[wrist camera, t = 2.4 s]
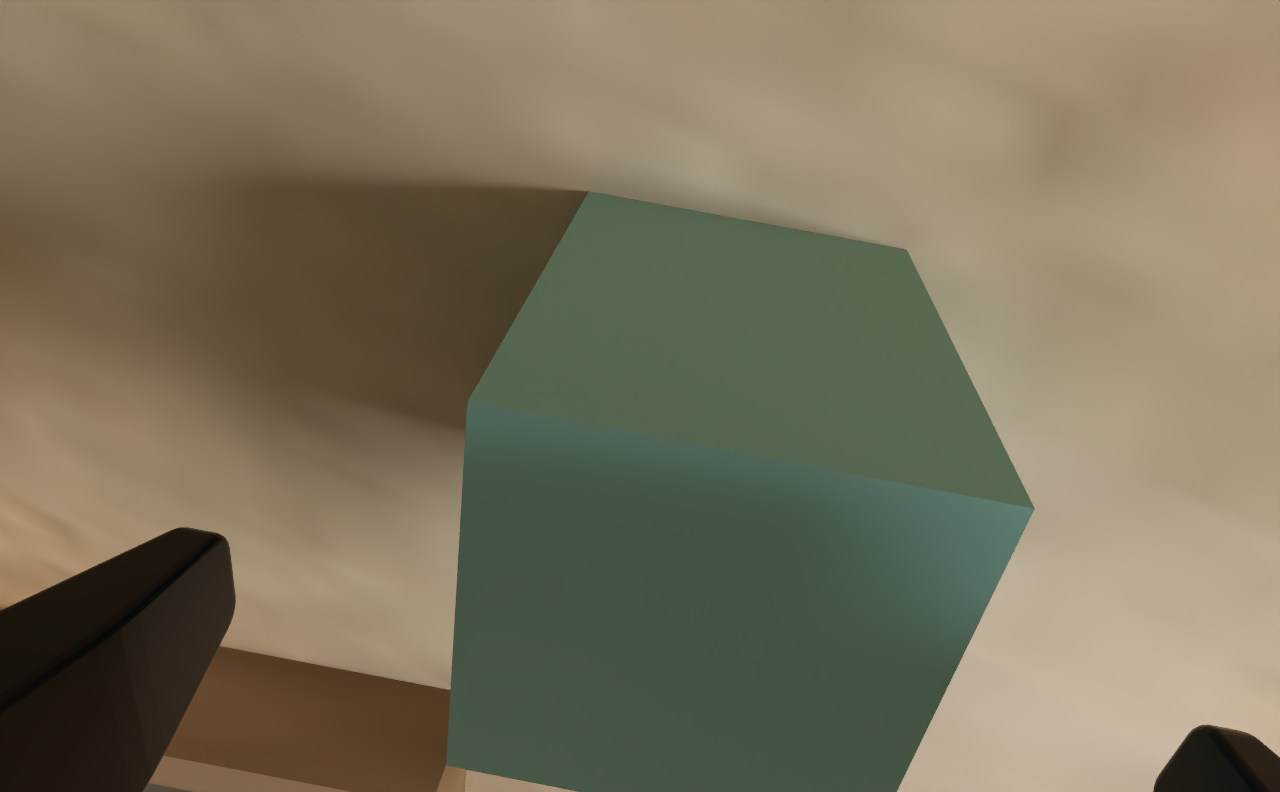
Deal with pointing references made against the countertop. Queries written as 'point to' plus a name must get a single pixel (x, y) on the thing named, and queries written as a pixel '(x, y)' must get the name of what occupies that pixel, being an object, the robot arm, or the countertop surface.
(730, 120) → the countertop surface
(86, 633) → the robot arm
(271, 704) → the bottom block
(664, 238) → the pillar block
